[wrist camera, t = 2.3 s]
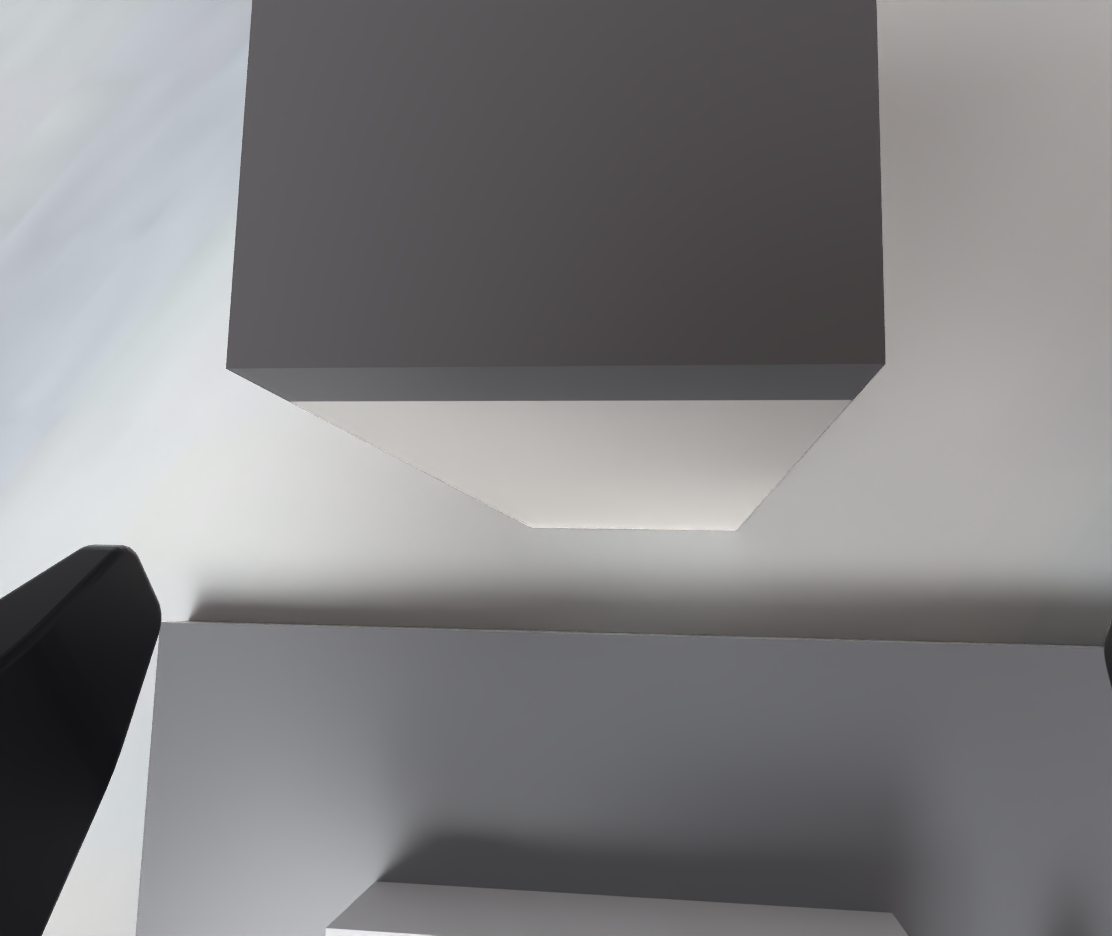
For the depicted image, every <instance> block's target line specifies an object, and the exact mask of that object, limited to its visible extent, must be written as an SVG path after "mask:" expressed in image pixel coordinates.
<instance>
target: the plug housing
mask: <svg viewBox="0 0 1112 936" xmlns="http://www.w3.org/2000/svg"><path fill="white" fill-rule="evenodd" d="M884 365H885V327H884V287H883V247H882V208H881V168H880V128H879V89H878V49H877V9H876V0H252V14H251V28H250V42H249V56H248V70H247V84H246V98H245V112H244V126H243V139H242V153H241V167H240V181H239V195H238V209H237V223H236V237H235V251H234V265H233V278H232V292H231V306H230V320H229V334H228V348H227V362H226V369H228V370H230V371H232V372H234V373H236V374H237V375H239V376H241V377H243V378H245V379H247V380H249V381H251V382H253V383H255V384H257V385H258V386H260V387H262V388H264V389H266V390H268V391H270V392H272V393H274V394H276V395H278V396H280V397H281V398H283V399H285V400H287V401H289V402H291V403H293V404H295V405H297V406H299V407H301V408H302V409H304V410H306V411H308V412H310V413H312V414H314V415H316V416H318V417H320V418H322V419H324V420H325V421H327V422H329V423H331V424H333V425H335V426H337V427H339V428H341V429H343V430H345V431H346V432H348V433H350V434H352V435H354V436H356V437H358V438H360V439H362V440H364V441H366V442H367V443H369V444H371V445H373V446H375V447H377V448H379V449H381V450H383V451H385V452H387V453H389V454H390V455H392V456H394V457H396V458H398V459H400V460H402V461H404V462H406V463H408V464H410V465H411V466H413V467H415V468H417V469H419V470H421V471H423V472H425V473H427V474H429V475H431V476H433V477H434V478H436V479H438V480H440V481H442V482H444V483H446V484H448V485H450V486H452V487H454V488H455V489H457V490H459V491H461V492H463V493H465V494H467V495H469V496H471V497H473V498H475V499H477V500H478V501H480V502H482V503H484V504H486V505H488V506H490V507H492V508H494V509H496V510H498V511H499V512H501V513H503V514H505V515H507V516H509V517H511V518H513V519H515V520H517V521H519V522H520V523H522V524H524V525H526V526H528V527H530V528H591V529H664V530H736V531H737V529H738V528H739V527H740V526H741V525H742V524H743V523H744V522H745V520H746V519H747V518H748V517H749V516H750V515H751V514H752V513H753V511H754V510H755V509H756V508H757V507H758V506H759V505H760V504H761V503H762V501H763V500H764V499H765V498H766V497H767V496H768V495H769V494H770V492H771V491H772V490H773V489H774V488H775V487H776V486H777V485H778V483H779V482H780V481H781V480H782V479H783V478H784V477H785V476H786V475H787V473H788V472H789V471H790V470H791V469H792V468H793V467H794V466H795V464H796V463H797V462H798V461H799V460H800V459H801V458H802V457H803V455H804V454H805V453H806V452H807V451H808V450H809V449H810V448H811V447H812V445H813V444H814V443H815V442H816V441H817V440H818V439H819V438H820V436H821V435H822V434H823V433H824V432H825V431H826V430H827V429H828V427H829V426H830V425H831V424H832V423H833V422H834V421H835V420H836V419H837V417H838V416H839V415H840V414H841V413H842V412H843V411H844V410H845V408H846V407H847V406H848V405H849V404H850V403H851V402H852V401H853V399H854V398H855V397H856V396H857V395H858V394H859V393H860V392H861V391H862V389H863V388H864V387H865V386H866V385H867V384H868V383H869V382H870V380H871V379H872V378H873V377H874V376H875V375H876V374H877V373H878V372H879V370H880V369H881V368H882V367H883V366H884Z"/></svg>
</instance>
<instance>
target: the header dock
mask: <svg viewBox="0 0 1112 936" xmlns="http://www.w3.org/2000/svg"><path fill="white" fill-rule="evenodd" d="M136 936H1112V689H1111V684H1110V680H1109V676H1108V672H1107V668H1106V664H1105V659H1104V646H1078V645H1041V644H1004V643H967V642H930V641H893V640H856V639H820V638H783V637H746V636H709V635H672V634H635V633H598V632H562V631H525V630H488V629H451V628H414V627H377V626H340V625H303V624H267V623H230V622H193V621H182V622H161V627H160V633H159V646H158V659H157V671H156V684H155V697H154V710H153V722H152V735H151V748H150V761H149V773H148V786H147V799H146V811H145V824H144V837H143V850H142V862H141V875H140V888H139V901H138V913H137V926H136Z"/></svg>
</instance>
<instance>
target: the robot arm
mask: <svg viewBox="0 0 1112 936" xmlns="http://www.w3.org/2000/svg"><path fill="white" fill-rule="evenodd" d="M160 627H161V609H160V604H159V602H158V599H157V597H156V595H155V593H154V590H153V588H152V586H151V584H150V582H149V579H148V577H147V575H146V573H145V571H144V568H143V566H142V564H141V562H140V559H139V557H138V556H137V554H136V552H134V551H133V550H132V549H131V548H130V547H127V546H124V545H89V546H85V547H83V548H81V549H79V550H78V551H76V552H74V553H73V554H71V555H70V556H68V557H66V558H65V559H63V560H62V561H60V562H58V563H57V564H55V565H54V566H52V567H50V568H49V569H47V570H46V571H44V572H42V573H41V574H39V575H38V576H36V577H34V578H33V579H31V580H30V581H28V582H26V583H25V584H23V585H22V586H20V587H19V588H17V589H15V590H14V591H12V592H11V593H9V594H7V595H6V596H4V597H3V598H1V599H0V936H42V934H43V932H44V929H45V927H46V925H47V922H48V920H49V918H50V916H51V913H52V911H53V909H54V907H55V904H56V902H57V900H58V898H59V895H60V893H61V891H62V889H63V886H64V884H65V882H66V880H67V877H68V875H69V873H70V870H71V868H72V866H73V864H74V861H75V859H76V857H77V855H78V852H79V850H80V848H81V846H82V843H83V841H84V839H85V837H86V834H87V832H88V830H89V828H90V825H91V823H92V821H93V818H94V816H95V814H96V812H97V809H98V807H99V805H100V803H101V800H102V798H103V796H104V793H105V791H106V789H107V786H108V784H109V781H110V779H111V776H112V774H113V772H114V769H115V766H116V763H117V761H118V758H119V755H120V752H121V750H122V747H123V744H124V740H125V737H126V734H127V731H128V728H129V725H130V722H131V719H132V716H133V712H134V709H135V706H136V703H137V700H138V697H139V694H140V691H141V687H142V684H143V681H144V678H145V675H146V672H147V669H148V666H149V663H150V659H151V656H152V653H153V650H154V647H155V644H156V641H157V638H158V635H159V631H160ZM1104 659H1105V664H1106V668H1107V672H1108V676H1109V680H1110V684H1111V689H1112V619H1111V622H1110V624H1109V627H1108V629H1107V632H1106V635H1105V640H1104Z"/></svg>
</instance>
